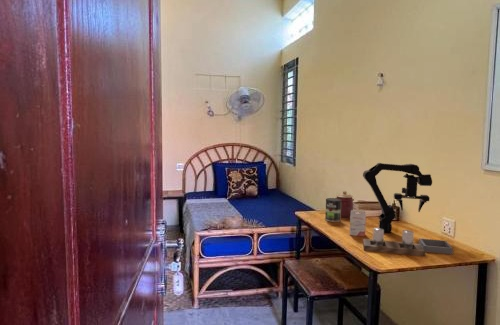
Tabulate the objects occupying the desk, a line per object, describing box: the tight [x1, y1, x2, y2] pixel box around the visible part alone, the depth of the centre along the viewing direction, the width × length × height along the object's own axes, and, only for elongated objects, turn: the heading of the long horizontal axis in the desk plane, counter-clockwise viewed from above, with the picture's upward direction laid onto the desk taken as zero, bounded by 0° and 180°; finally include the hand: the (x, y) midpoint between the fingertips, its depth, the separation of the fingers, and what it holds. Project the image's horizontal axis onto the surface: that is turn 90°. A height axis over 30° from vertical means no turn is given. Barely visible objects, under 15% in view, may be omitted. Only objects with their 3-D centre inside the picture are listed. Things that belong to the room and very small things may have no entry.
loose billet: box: [401, 229, 414, 249], centre depth 177 cm, size 5×5×10 cm
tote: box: [418, 238, 454, 255], centre depth 181 cm, size 13×13×3 cm
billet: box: [372, 227, 385, 246], centre depth 181 cm, size 5×5×10 cm
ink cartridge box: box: [349, 209, 367, 237], centre depth 204 cm, size 9×5×15 cm, turn 70°
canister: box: [335, 190, 355, 218], centre depth 251 cm, size 13×13×18 cm
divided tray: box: [362, 238, 426, 257], centre depth 179 cm, size 28×12×2 cm, turn 75°
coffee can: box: [324, 197, 342, 223], centre depth 237 cm, size 10×10×14 cm
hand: (410, 211), depth 209 cm, fingers open, 9 cm apart
